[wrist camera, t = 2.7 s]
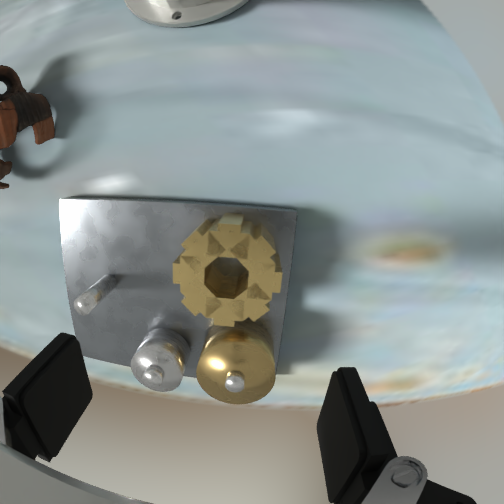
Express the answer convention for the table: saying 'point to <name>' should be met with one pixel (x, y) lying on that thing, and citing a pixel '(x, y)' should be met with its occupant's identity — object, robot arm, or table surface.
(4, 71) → the brown clawed ring bracket
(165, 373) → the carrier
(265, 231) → the planet gear
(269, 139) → the table surface
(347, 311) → the table surface
